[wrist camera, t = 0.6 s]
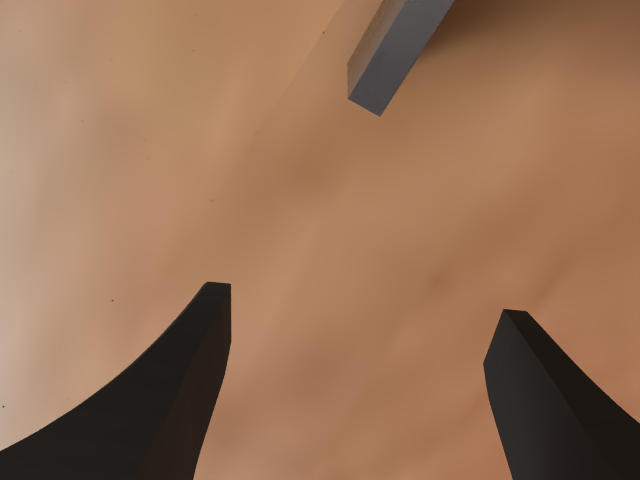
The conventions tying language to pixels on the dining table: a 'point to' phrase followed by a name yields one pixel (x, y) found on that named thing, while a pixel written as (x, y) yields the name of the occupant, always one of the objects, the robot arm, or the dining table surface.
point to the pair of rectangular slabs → (391, 49)
